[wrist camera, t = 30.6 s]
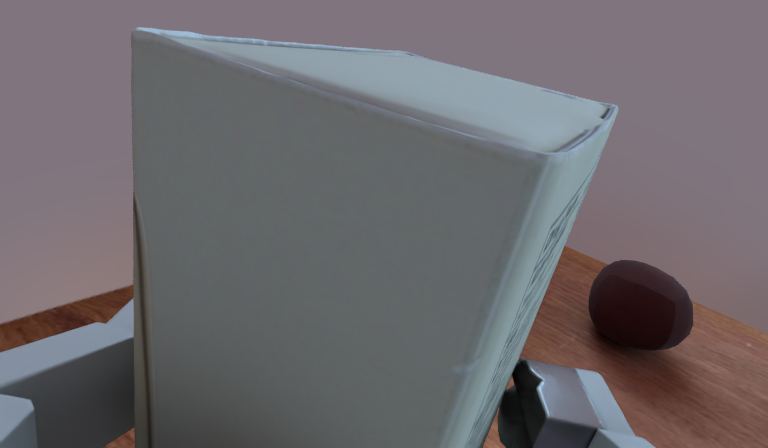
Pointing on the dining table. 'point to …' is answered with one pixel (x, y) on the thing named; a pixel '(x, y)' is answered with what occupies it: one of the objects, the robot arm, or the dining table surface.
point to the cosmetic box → (339, 240)
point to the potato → (640, 306)
